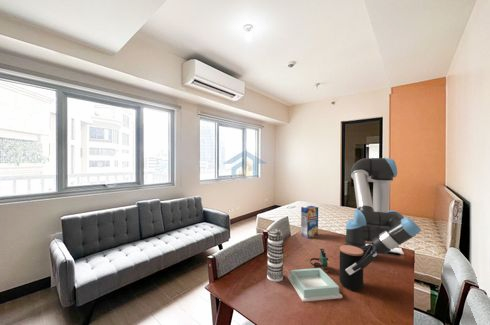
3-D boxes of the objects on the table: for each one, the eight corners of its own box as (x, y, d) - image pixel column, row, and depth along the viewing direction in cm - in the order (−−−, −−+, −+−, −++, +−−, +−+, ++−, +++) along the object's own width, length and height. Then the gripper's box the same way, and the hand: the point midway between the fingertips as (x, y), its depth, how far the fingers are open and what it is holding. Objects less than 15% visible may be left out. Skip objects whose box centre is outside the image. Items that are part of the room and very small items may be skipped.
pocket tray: (320, 275, 112) (320, 266, 112) (342, 297, 94) (342, 288, 94) (287, 277, 109) (287, 269, 109) (302, 301, 91) (303, 291, 91)
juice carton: (311, 233, 178) (311, 205, 178) (318, 236, 172) (318, 207, 172) (300, 235, 173) (301, 206, 173) (307, 238, 166) (307, 208, 166)
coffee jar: (365, 284, 104) (366, 249, 104) (359, 294, 96) (360, 256, 96) (343, 276, 111) (343, 243, 111) (336, 285, 103) (336, 249, 103)
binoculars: (308, 247, 125) (325, 247, 123) (310, 265, 124) (327, 265, 122) (310, 254, 116) (328, 254, 114) (312, 273, 116) (330, 273, 114)
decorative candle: (279, 284, 104) (280, 234, 104) (263, 278, 108) (263, 231, 108) (286, 275, 111) (286, 229, 111) (270, 270, 116) (271, 226, 116)
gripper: (394, 260, 84) (353, 285, 92) (389, 240, 105) (355, 262, 113) (379, 244, 87) (340, 270, 94) (377, 228, 108) (345, 250, 116)
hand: (348, 266), depth 104 cm, fingers open, 13 cm apart
